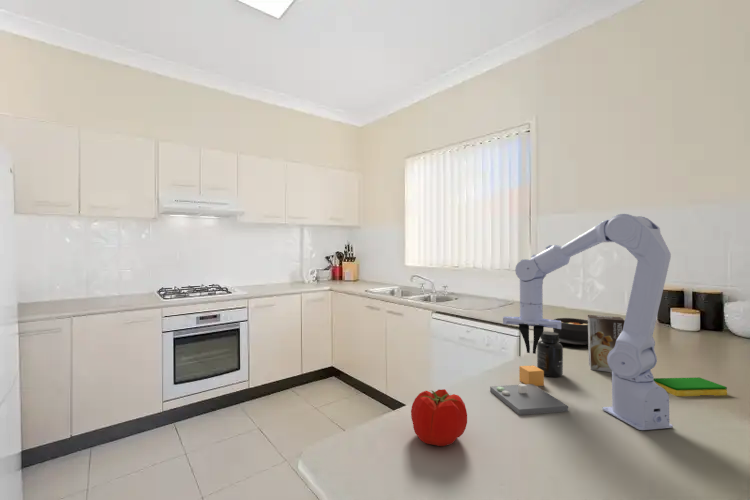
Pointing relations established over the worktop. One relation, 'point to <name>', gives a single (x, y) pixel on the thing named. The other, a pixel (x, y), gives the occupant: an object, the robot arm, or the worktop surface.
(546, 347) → the supplement bottle
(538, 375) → the orange wooden cube
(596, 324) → the coffee box
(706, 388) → the dish sponge
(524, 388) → the small white block
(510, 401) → the panel
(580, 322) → the casserole
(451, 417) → the tomato
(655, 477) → the worktop surface
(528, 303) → the robot arm
